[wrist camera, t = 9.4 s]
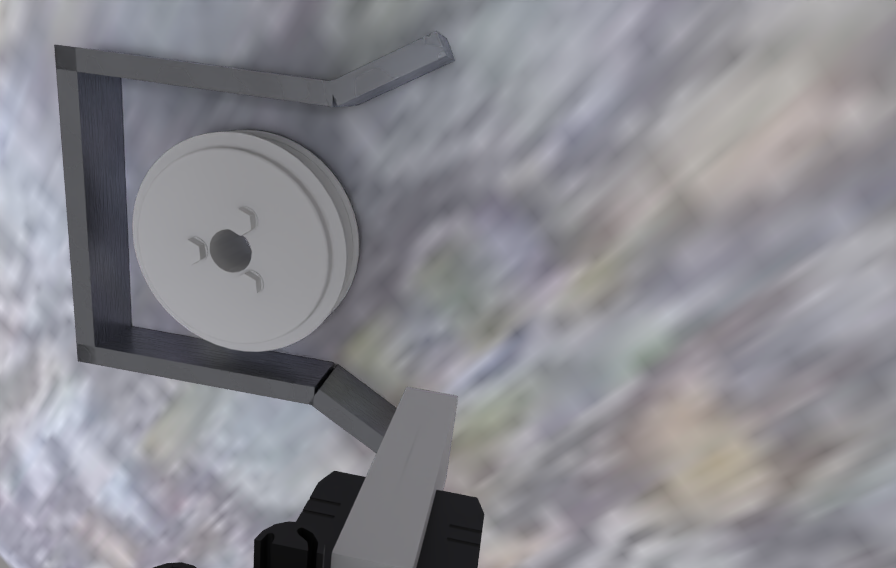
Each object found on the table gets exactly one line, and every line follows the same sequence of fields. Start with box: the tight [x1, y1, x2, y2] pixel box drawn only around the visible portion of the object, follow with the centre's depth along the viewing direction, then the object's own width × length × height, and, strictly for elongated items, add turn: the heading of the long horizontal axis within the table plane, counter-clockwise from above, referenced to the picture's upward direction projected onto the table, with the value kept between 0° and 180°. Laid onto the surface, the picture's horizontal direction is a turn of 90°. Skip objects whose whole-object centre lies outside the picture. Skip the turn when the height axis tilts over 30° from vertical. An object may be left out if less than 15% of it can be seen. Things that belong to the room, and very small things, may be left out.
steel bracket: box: [54, 31, 455, 453], centre depth 35 cm, size 24×21×4 cm
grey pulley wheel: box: [132, 130, 359, 352], centre depth 34 cm, size 13×13×5 cm
